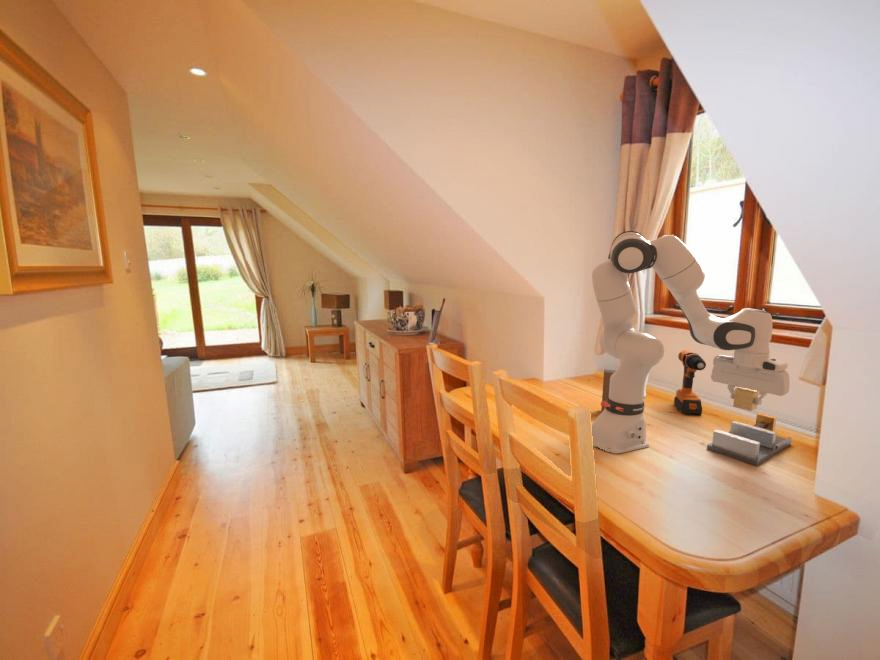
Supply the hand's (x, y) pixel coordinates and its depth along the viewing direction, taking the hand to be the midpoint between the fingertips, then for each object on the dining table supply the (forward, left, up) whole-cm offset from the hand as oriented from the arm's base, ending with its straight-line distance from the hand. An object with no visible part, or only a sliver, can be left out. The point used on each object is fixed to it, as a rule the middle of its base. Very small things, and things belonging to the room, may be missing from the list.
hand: (745, 401), depth 130 cm
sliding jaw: (+14, 0, -16) cm, 21 cm away
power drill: (+26, +28, -18) cm, 42 cm away
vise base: (+8, 0, -18) cm, 19 cm away
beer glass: (+29, +52, -18) cm, 62 cm away
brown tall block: (-3, +44, -18) cm, 48 cm away
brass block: (0, 0, -2) cm, 2 cm away
